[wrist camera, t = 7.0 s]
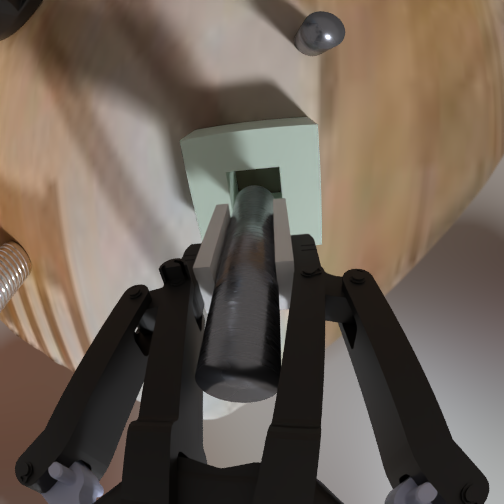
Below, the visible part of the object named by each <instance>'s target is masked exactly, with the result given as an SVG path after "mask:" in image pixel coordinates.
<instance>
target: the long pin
mask: <svg viewBox="0 0 504 504" xmlns="http://www.w3.org/2000/svg"><path fill="white" fill-rule="evenodd" d="M273 199H274V197H273V195H272V194H271V192H270V191H269V190H267V189H266V188H264V187H262V186H257V185H252V186H248V187H245V188H244V189H242V190H241V191H240V192H239V193H238V195H237V197H236V200H235V204H234V208H233V212H232V216H231V220H230V224H229V228H228V232H227V236H226V240H225V244H224V248H223V252H222V257H221V261H220V265H219V269H218V273H217V278H216V282H215V286H214V291H213V295H212V299H211V304H210V308H209V312H208V317H207V321H206V326H205V331H204V335H203V340H202V344H201V349H200V354H199V358H198V363H197V368H196V373H195V381H196V383H197V385H198V386H199V387H200V388H201V389H202V390H203V391H204V392H206V393H207V394H209V395H211V396H213V397H216V398H218V399H222V400H225V401H231V402H240V403H247V402H257V401H261V400H265V399H267V398H270V397H272V396H273V395H275V394H276V393H277V390H278V384H279V378H280V372H281V340H280V306H279V286H278V283H277V276H276V265H275V242H274V215H273Z"/></svg>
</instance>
